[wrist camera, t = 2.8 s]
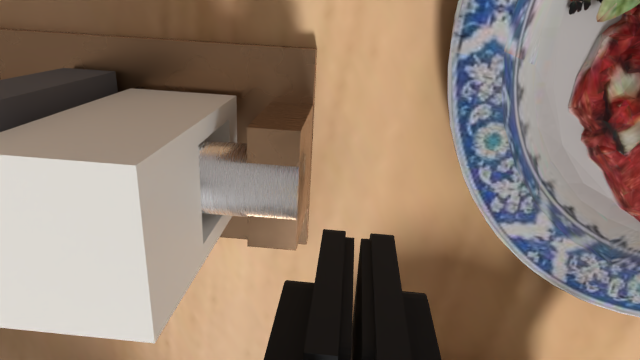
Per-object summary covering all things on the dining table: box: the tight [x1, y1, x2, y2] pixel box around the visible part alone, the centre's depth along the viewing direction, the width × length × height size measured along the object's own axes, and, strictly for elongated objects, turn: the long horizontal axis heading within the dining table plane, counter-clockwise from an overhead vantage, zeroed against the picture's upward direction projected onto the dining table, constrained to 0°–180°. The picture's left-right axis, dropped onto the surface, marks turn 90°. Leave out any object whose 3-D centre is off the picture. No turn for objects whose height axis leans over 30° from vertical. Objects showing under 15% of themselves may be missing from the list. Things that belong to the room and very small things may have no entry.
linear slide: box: [0, 29, 317, 250], centre depth 20 cm, size 23×10×6 cm, turn 87°
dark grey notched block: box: [0, 68, 118, 132], centre depth 17 cm, size 7×2×9 cm, turn 177°
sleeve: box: [0, 88, 237, 343], centre depth 17 cm, size 6×5×10 cm
